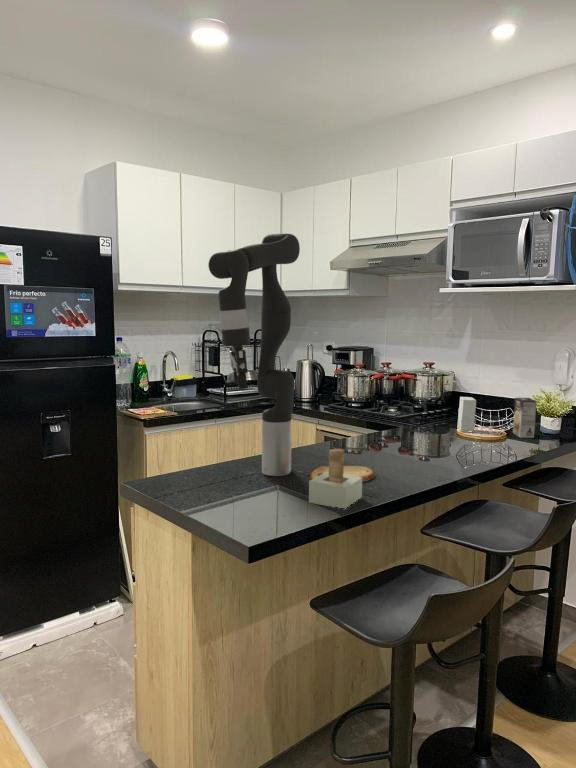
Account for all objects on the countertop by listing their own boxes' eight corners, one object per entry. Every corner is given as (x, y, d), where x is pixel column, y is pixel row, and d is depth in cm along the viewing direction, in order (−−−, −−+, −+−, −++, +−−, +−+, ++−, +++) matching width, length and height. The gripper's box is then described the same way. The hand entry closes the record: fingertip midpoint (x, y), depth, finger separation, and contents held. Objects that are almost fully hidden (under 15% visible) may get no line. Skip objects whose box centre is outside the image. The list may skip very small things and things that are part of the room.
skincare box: (456, 428, 263) (458, 396, 261) (470, 429, 263) (472, 396, 261) (460, 432, 255) (462, 399, 253) (474, 432, 255) (476, 399, 253)
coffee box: (511, 433, 255) (514, 397, 253) (526, 433, 255) (529, 397, 253) (519, 437, 246) (522, 400, 244) (534, 438, 246) (537, 400, 244)
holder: (326, 491, 167) (326, 471, 166) (361, 498, 161) (362, 477, 161) (308, 502, 157) (309, 480, 156) (345, 509, 152) (346, 487, 151)
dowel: (331, 497, 162) (333, 448, 160) (344, 499, 160) (346, 450, 158) (325, 501, 158) (326, 451, 157) (338, 503, 156) (340, 453, 155)
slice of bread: (377, 475, 186) (377, 463, 186) (362, 490, 170) (362, 478, 169) (324, 468, 193) (324, 457, 193) (305, 482, 177) (305, 471, 176)
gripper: (252, 326, 149) (258, 388, 151) (244, 324, 162) (250, 380, 165) (223, 329, 147) (230, 392, 150) (218, 326, 161) (224, 383, 164)
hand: (240, 386), depth 157 cm, fingers open, 8 cm apart
